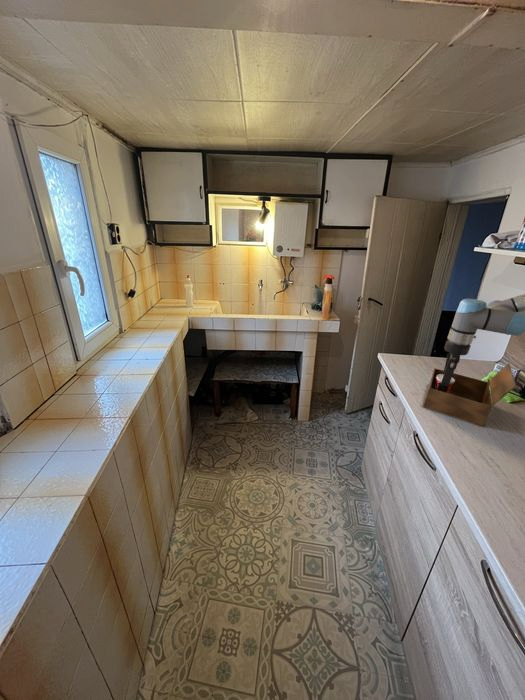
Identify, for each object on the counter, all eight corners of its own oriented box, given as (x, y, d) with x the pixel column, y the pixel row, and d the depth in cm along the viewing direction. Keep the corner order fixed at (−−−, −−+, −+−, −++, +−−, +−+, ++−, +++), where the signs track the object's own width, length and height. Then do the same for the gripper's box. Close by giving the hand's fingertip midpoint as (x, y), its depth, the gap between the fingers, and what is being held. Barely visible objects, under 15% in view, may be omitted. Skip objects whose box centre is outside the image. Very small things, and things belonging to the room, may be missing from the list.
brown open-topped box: (481, 400, 113) (488, 382, 109) (482, 426, 98) (491, 406, 94) (428, 385, 122) (434, 368, 119) (423, 406, 107) (429, 388, 104)
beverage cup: (451, 401, 110) (463, 370, 104) (438, 402, 109) (449, 371, 103) (439, 392, 116) (450, 362, 110) (426, 393, 114) (436, 363, 109)
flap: (489, 380, 109) (490, 381, 109) (492, 404, 94) (493, 405, 94) (508, 363, 104) (509, 363, 104) (514, 385, 89) (516, 386, 89)
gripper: (471, 353, 93) (449, 410, 103) (471, 336, 108) (451, 387, 117) (445, 347, 97) (426, 402, 106) (448, 332, 111) (431, 382, 121)
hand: (439, 395), depth 112 cm, fingers closed on beverage cup, 6 cm apart
